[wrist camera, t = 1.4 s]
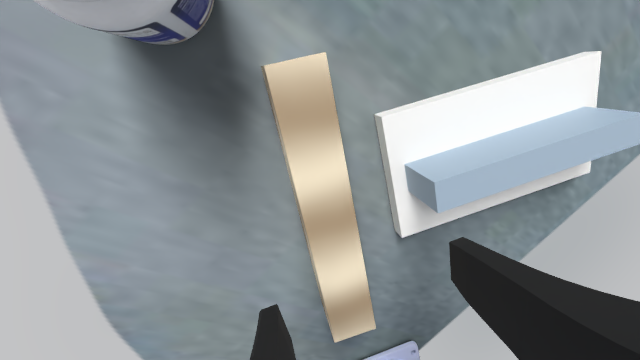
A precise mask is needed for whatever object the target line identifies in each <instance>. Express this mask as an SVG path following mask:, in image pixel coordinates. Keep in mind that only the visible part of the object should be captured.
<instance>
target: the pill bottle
mask: <svg viewBox="0 0 640 360" xmlns="http://www.w3.org/2000/svg"><path fill="white" fill-rule="evenodd" d="M34 1H35V2H37V3H38V4H39V5H41V6H42V7H44V8H46V9H47V10H49V11H51V12H52V13H54V14H56V15H58V16H60V17H62V18H64V19H66V20H68V21H71V22H73V23H75V24H78V25H81V26H84V27H87V28H91V29H95V30H98V31H103V32H106V33H110V34H114V35H119V36H122V37H126V38H130V39H134V40H138V41H142V42H145V43H150V44H160V45H168V44H176V43H180V42H182V41H185V40H187V39H189V38H191V37H192V36H194V35H195V34H196V33H198V32H199V31H200V30H201V29H202V27H203V26H204V25H205V23H206V22H207V20H208V18H209V16H210V14H211V11H212V8H213V3H214V0H34Z"/></svg>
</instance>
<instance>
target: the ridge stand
mask: <svg viewBox="0 0 640 360" xmlns="http://www.w3.org/2000/svg"><path fill="white" fill-rule="evenodd" d="M600 62H601V51H596V52H582V53H579V54H576V55H572V56H569V57H566V58H562V59H559V60H556V61H552V62H549V63H545V64H542V65H539V66H535V67H532V68H529V69H525V70H522V71H519V72H515V73H512V74H508V75H505V76H502V77H498V78H495V79H492V80H488V81H485V82H481V83H478V84H475V85H471V86H468V87H465V88H461V89H458V90H455V91H451V92H448V93H444V94H441V95H438V96H434V97H431V98H428V99H424V100H421V101H418V102H414V103H411V104H407V105H404V106H401V107H397V108H394V109H391V110H387V111H384V112H381V113H377V114H374V116H375V121H376V127H377V133H378V138H379V144H380V150H381V155H382V161H383V166H384V172H385V178H386V183H387V189H388V195H389V200H390V206H391V211H392V217H393V223H394V228H395V231H396V232H397V233H398V234H399V235H400V236H401V237H402V238H403V237H406V236H409V235H412V234H415V233H418V232H420V231H423V230H426V229H429V228H432V227H435V226H438V225H440V224H443V223H446V222H449V221H452V220H455V219H458V218H461V217H463V216H466V215H469V214H472V213H475V212H478V211H481V210H483V209H486V208H489V207H492V206H495V205H498V204H501V203H503V202H506V201H509V200H512V199H515V198H518V197H521V196H523V195H526V194H529V193H532V192H535V191H538V190H541V189H544V188H546V187H549V186H552V185H555V184H558V183H561V182H564V181H566V180H569V179H572V178H575V177H578V176H581V175H584V174H586V173H589V172H590V166H591V161H592V160H595V159H597V158H600V157H603V156H606V155H609V154H612V153H615V152H618V151H621V150H624V149H626V148H629V147H632V146H635V145H638V144H639V143H640V112H630V111H621V110H612V109H603V108H596V104H597V93H598V83H599V72H600Z"/></svg>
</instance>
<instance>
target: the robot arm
mask: <svg viewBox="0 0 640 360" xmlns="http://www.w3.org/2000/svg"><path fill="white" fill-rule="evenodd" d="M449 246H450V266H451V280H452V281H453V283H454V284H455V286H456V287H457V288H458V290H459V291H460V293H461V294H462V295H463V297H464V298H465V300H466V301H467V302H468V303H469V304H470V306H471V307H472V308H473V309H474V310H475V311H476V312H477V313H478V315H479V316H480V317H481V318H482V319H483V320H484V321H485V322H486V323H487V324H488V326H489V327H490V328H491V329H492V330H493V331H494V332H495V333H496V334H497V335H498V336H499V338H500V339H501V340H502V341H503V342H504V343H505V344H506V345H507V346H508V348H509V349H510V350H511V351H512V352H513V353H514V354H515V356H516V357H517V358H518V359H519V360H640V302H638V301H634V300H630V299H626V298H623V297H619V296H615V295H611V294H608V293H604V292H601V291H597V290H594V289H590V288H587V287H584V286H581V285H578V284H575V283H572V282H569V281H566V280H563V279H560V278H557V277H555V276H552V275H549V274H547V273H544V272H541V271H539V270H536V269H534V268H531V267H529V266H527V265H524V264H522V263H519V262H517V261H515V260H512V259H510V258H508V257H506V256H503V255H501V254H499V253H497V252H495V251H492V250H490V249H488V248H486V247H484V246H482V245H479V244H477V243H475V242H473V241H471V240H468V239H466V238H464V237H462V238H459V239H456V240H454V241H451V242H449ZM250 360H296V358H295V353H294V349H293V344H292V340H291V337H290V335H289V332H288V330H287V327H286V325H285V322H284V320H283V317H282V315H281V313H280V310H279V308H278V305H277V304H276V305H273V306H270V307H268V308H265V309H262V310H261V311H260V313H259V320H258V326H257V331H256V336H255V340H254V345H253V349H252V353H251V357H250ZM363 360H420V357H419V351H418V346H417V344H416V342H415V341H409V342H407V343H404V344H402V345H399V346H397V347H394V348H391V349H389V350H386V351H384V352H381V353H379V354H376V355H374V356H371V357H369V358H366V359H363Z"/></svg>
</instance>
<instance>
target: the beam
mask: <svg viewBox="0 0 640 360" xmlns="http://www.w3.org/2000/svg"><path fill="white" fill-rule="evenodd" d="M261 68H262V72H263V76H264V80H265V84H266V88H267V92H268V95H269V99H270V103H271V107H272V111H273V115H274V119H275V123H276V126H277V130H278V134H279V138H280V142H281V146H282V150H283V153H284V157H285V161H286V165H287V169H288V173H289V177H290V180H291V184H292V188H293V192H294V196H295V200H296V204H297V208H298V211H299V215H300V219H301V223H302V227H303V231H304V235H305V238H306V242H307V246H308V250H309V254H310V258H311V262H312V266H313V269H314V273H315V277H316V281H317V285H318V289H319V293H320V296H321V300H322V304H323V307H324V311H325V314H326V317H327V320H328V323H329V326H330V330H331V333H332V336H333V339H334V342H338V341H341V340H344V339H347V338H350V337H353V336H356V335H358V334H361V333H364V332H367V331H370V330H373V329H376V326H375V320H374V315H373V309H372V304H371V298H370V293H369V287H368V282H367V276H366V271H365V265H364V260H363V254H362V249H361V243H360V238H359V232H358V227H357V221H356V216H355V210H354V205H353V199H352V194H351V188H350V183H349V177H348V172H347V166H346V161H345V155H344V150H343V144H342V139H341V133H340V128H339V122H338V117H337V111H336V106H335V100H334V95H333V89H332V84H331V78H330V73H329V67H328V62H327V56H326V52H324V53H319V54H315V55H310V56H306V57H301V58H297V59H292V60H287V61H283V62H278V63H274V64H269V65H265V66H261Z"/></svg>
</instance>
